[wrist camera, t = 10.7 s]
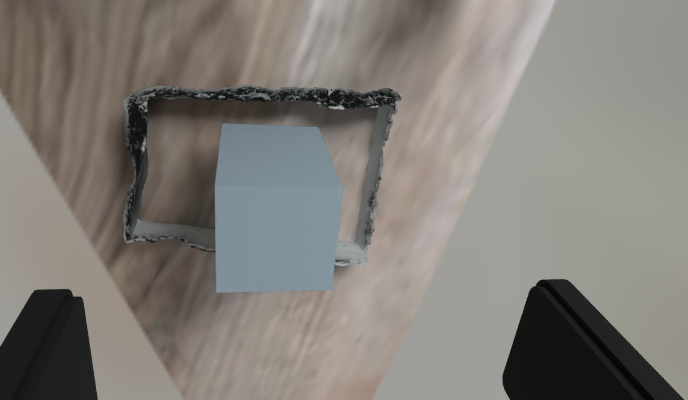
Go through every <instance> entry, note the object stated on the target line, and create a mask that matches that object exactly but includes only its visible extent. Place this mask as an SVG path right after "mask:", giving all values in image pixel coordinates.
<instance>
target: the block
mask: <svg viewBox="0 0 688 400" xmlns="http://www.w3.org/2000/svg"><path fill="white" fill-rule="evenodd" d="M342 192H343V187H342V184H341V182H340V179H339V177H338V174H337V172H336V169H335V167H334V165H333V162H332V160H331V157H330V155H329V152H328V150H327V147H326V145H325V143H324V140H323V138H322V135H321V133H320V130H319V128H318V127H304V126H279V125H254V124H229V123H222V131H221V139H220V147H219V155H218V163H217V171H216V179H215V244H216V293H230V292H272V291H313V290H332V287H333V277H334V268H335V258H336V249H337V239H338V230H339V220H340V211H341V201H342Z"/></svg>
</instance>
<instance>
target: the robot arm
mask: <svg viewBox="0 0 688 400" xmlns="http://www.w3.org/2000/svg"><path fill="white" fill-rule="evenodd" d="M503 386H504V389H505V391H506V393H507V395H508V397H509V399H510V400H684V399H683V398H682V397H681V396H680V395H679V394H678V393H677V392H676V391H675V390H674V389H673V388H672V387H671V386H670V385H669V384H668V383H667V382H666V380H664V378H663V377H662V376H661V375H660V374H659V373H658V372H657V371H656V370H655V369H654V368H653V367H652V366H651V365H650V364H649V363H648V362H647V361H646V360H645V359H644V358H643V357H642V356H641V355H640V354H639V353H638V351H636V350H635V348H634V347H633V346H631V344H630V343H629V342H628V341H627V340H626V339H625V338H624V337H623V336H622V335H621V334H620V333H619V332H618V331H617V330H616V329H615V328H614V327H613V326H612V325H611V324H610V323H609V322H608V320H606V318H605V317H604V316H603V315H602V314H601V313H600V312H599V311H598V310H597V309H596V308H595V307H594V306H593V305H592V304H591V303H590V302H589V301H588V300H587V299H586V298H585V297H584V296H583V295H582V294H581V293H580V292H579V291H578V290H577V288H576V287H575V286H574V285H573V284H572V283H571V282H569V281H568V280H565V279H551V280H540V281H539V282H538V283H537V284H536V286H534V287H532V288H531V289H530V292H529V294H528V297H527V300H526V304H525V307H524V310H523V314H522V316H521V319H520V322H519V325H518V329H517V332H516V335H515V338H514V341H513V345H512V347H511V351H510V354H509V357H508V360H507V363H506V366H505V369H504V372H503ZM0 400H98V399H97V391H96V385H95V378H94V371H93V364H92V357H91V350H90V343H89V337H88V330H87V323H86V317H85V309H84V303H83V299H82V297H73V294H72V292H71V291H70V290H69V289H46V290H35V291H34V292H33V293H32V294H31V296H30V298H29V299H28V301H27V303H26V304H25V306H24V308H23V309H22V311H21V313H20V315H19V316H18V318H17V319H16V321H15V323H14V324H13V326H12V328H11V330H10V331H9V333H8V335H7V336H6V338H5V340H4V341H3V343H2V345H1V346H0Z"/></svg>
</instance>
